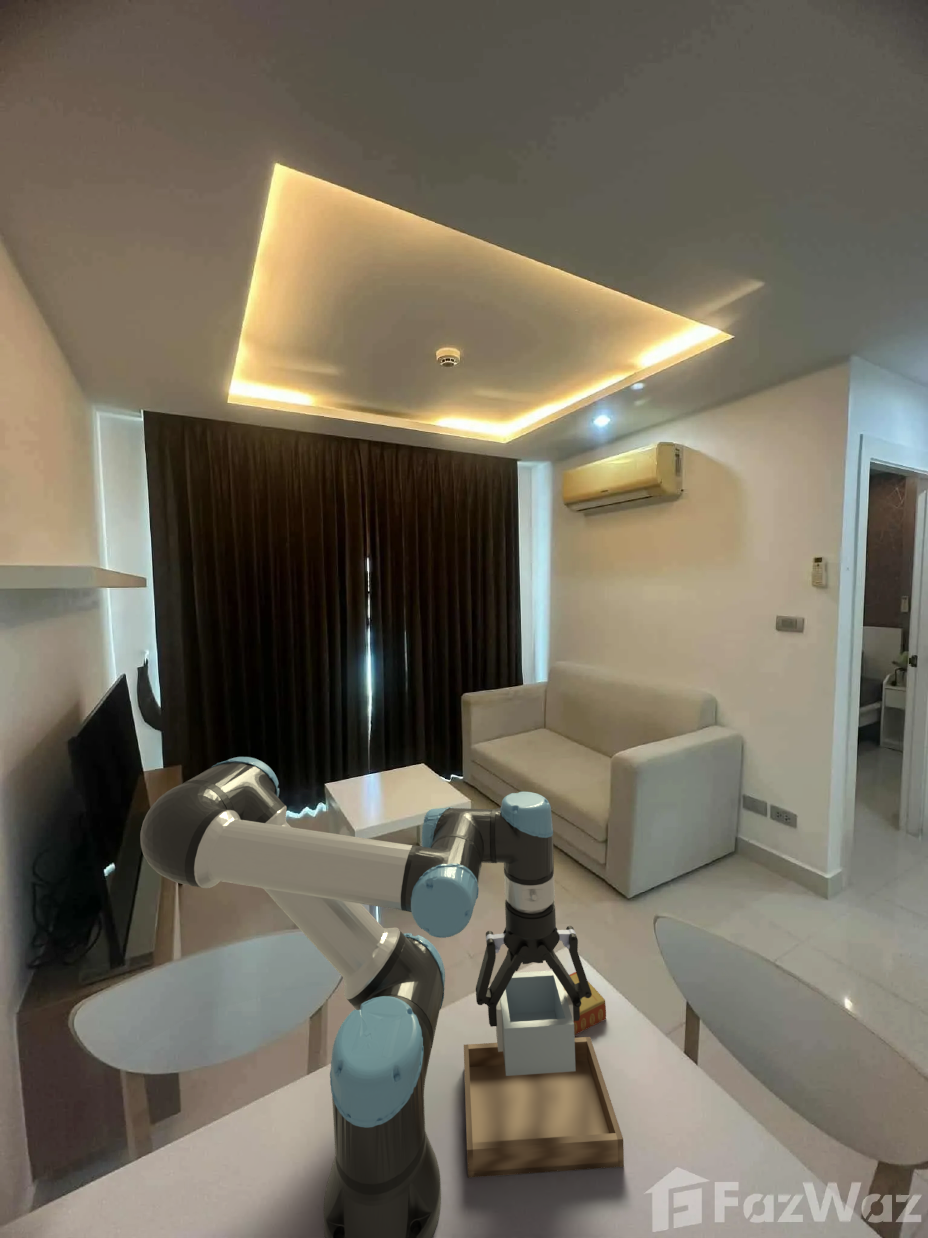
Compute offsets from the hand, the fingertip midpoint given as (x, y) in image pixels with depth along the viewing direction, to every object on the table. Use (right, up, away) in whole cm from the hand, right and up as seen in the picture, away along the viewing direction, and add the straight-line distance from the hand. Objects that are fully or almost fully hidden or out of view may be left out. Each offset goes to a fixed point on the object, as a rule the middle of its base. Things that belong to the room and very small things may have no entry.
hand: (534, 1041), depth 74 cm
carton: (+7, -11, +17) cm, 21 cm away
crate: (0, -11, 0) cm, 11 cm away
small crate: (0, 0, 0) cm, 0 cm away
